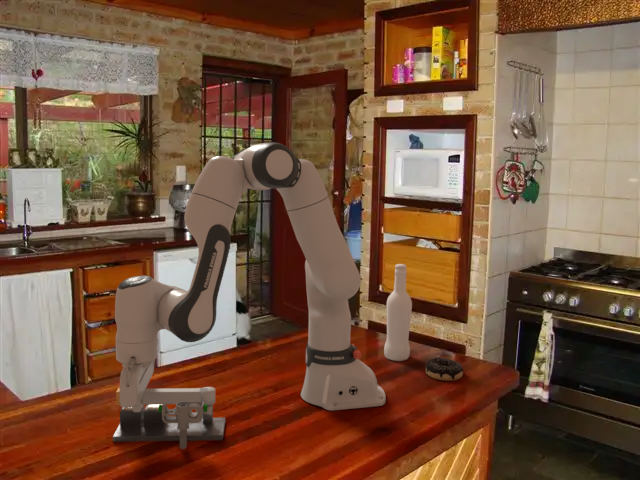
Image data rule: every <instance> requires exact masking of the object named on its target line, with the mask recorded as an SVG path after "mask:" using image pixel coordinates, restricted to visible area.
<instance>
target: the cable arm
mask: <svg viewBox="0 0 640 480" xmlns="http://www.w3.org/2000/svg"><path fill="white" fill-rule="evenodd" d="M115 396H116V397H115V401H116V402H115V405H116V407H121V405H120V387H118V388H117V390H116V392H115ZM182 401H186V402H197V401H204V405H205V404H207V405H212V404H213V405H214V404H215V403H216V388H215V387H213V386H204V387H197V388H196V387H195V388H194V387H190V388H187V387H185V388H183V387H182V388H177V387H176V388H171V387H170V388H146V389H145V392H144V399H143V405H158V404H167V405H176V404H177V403H178V402H182Z"/></svg>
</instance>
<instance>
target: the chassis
mask: <svg viewBox="0 0 640 480" xmlns="http://www.w3.org/2000/svg"><path fill="white" fill-rule="evenodd" d="M207 406H208V408H207V412H204V411H203V417H202V420H201V421H200V422H199V423H189V428H188V429H187V442H188V441H190V442H191V441H193V442H194V441H223V439H224V434H225V428H226V427H225V426H226V417H213V416H214V414H213V413H214V408H213V406H214V404H212V405H207ZM117 426H118V427H117V428H116V430H115V432H114V434H113V436H112V442H114V443H115V442H116V443H117V442H118V443H119V442H120V443H121V442H124V443H125V442H126V443H127V442H177V441H178V442H180V430H179V429H177V426H178V423H165V425H164V426H144V420H143V422H142V424H141V426H120V423H119V424H118V425H117Z"/></svg>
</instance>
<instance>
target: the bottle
mask: <svg viewBox="0 0 640 480" xmlns="http://www.w3.org/2000/svg"><path fill="white" fill-rule="evenodd" d="M394 268H395V269H394V283H393V284H394V285H393V290H392V292H391V293H390V294H389V295H388V297H387V300H386V340H385V344H384V346H383V347H384V349H383V353H384V357H385V358H386V359H388V360H390V361H394V362H402V361H406V360H408V359H409V357H410V354H411V346H410V343H409V336H410V335H409V334H410V328H411V327H410V326H411V317H412V311H413V310H412V308H413V300H412V297H411V296H410V294H409V293H408V292H407V274H408V270H407V265H406V264H404V263H397V264H395V265H394Z"/></svg>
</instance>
